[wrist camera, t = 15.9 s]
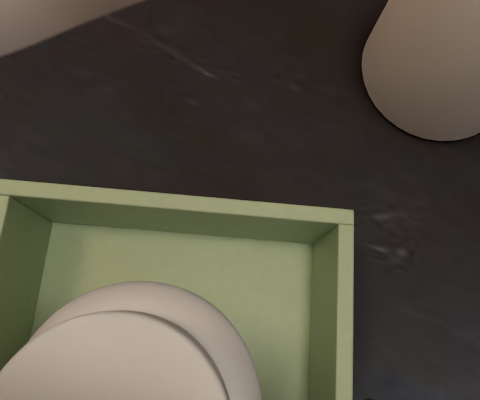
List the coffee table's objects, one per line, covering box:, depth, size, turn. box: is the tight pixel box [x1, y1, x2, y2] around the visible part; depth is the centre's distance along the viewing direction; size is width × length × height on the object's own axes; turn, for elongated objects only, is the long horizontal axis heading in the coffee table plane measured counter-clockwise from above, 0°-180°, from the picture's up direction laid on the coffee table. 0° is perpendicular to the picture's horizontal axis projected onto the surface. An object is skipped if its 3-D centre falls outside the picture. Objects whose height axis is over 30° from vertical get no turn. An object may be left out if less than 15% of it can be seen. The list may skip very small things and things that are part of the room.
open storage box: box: [0, 179, 354, 400], centre depth 17 cm, size 13×13×5 cm
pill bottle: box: [0, 281, 262, 400], centre depth 13 cm, size 6×6×12 cm
